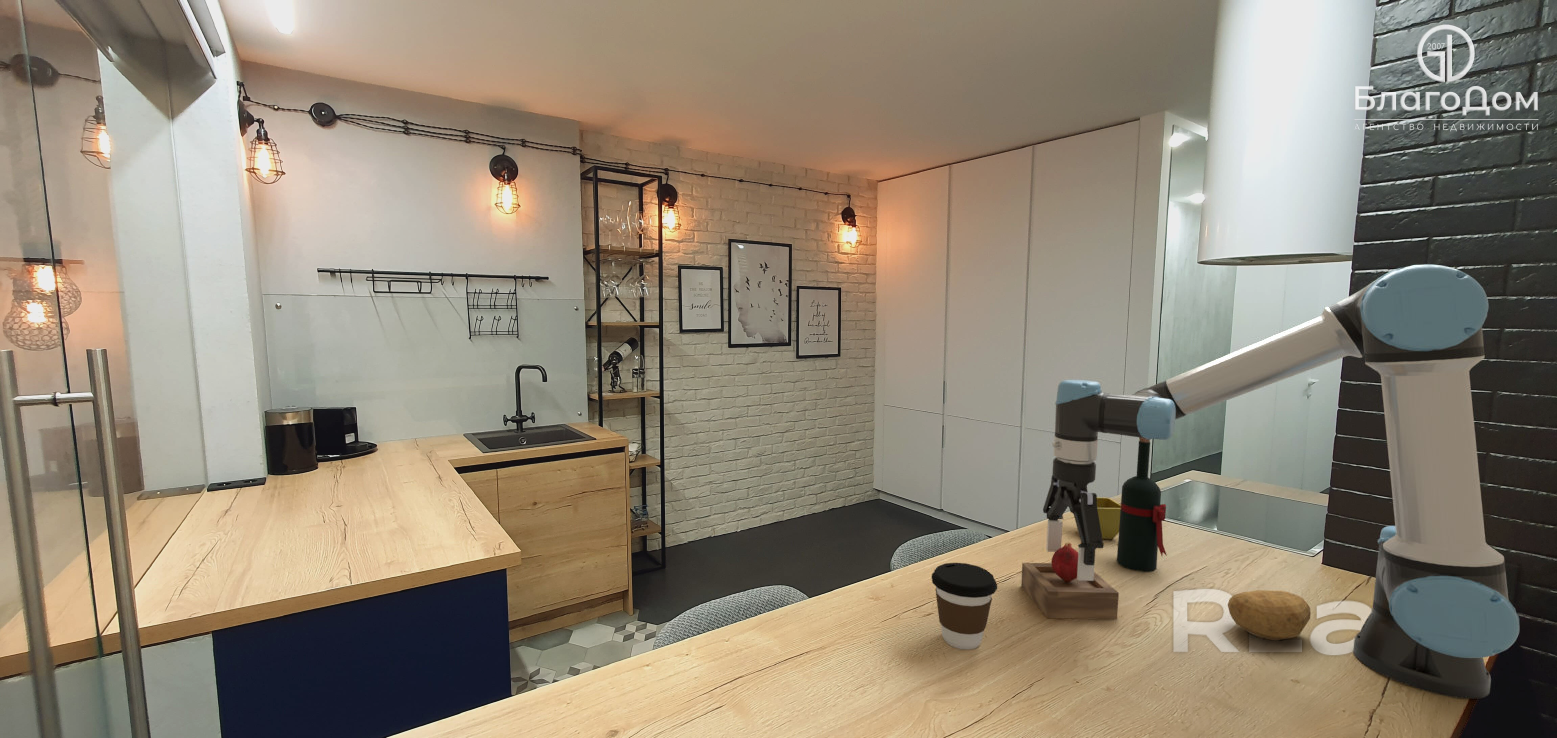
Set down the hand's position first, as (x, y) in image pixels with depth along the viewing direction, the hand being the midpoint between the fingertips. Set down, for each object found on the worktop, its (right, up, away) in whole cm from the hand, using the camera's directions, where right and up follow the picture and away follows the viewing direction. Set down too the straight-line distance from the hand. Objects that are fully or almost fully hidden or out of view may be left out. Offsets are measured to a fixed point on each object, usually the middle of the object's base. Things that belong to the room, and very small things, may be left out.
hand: (1068, 564), depth 118 cm
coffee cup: (-25, -9, -14) cm, 30 cm away
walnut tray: (0, -8, +1) cm, 8 cm away
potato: (+31, -9, -11) cm, 34 cm away
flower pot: (+26, -5, +37) cm, 45 cm away
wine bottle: (+25, -6, +18) cm, 32 cm away
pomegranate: (0, -4, 0) cm, 4 cm away
